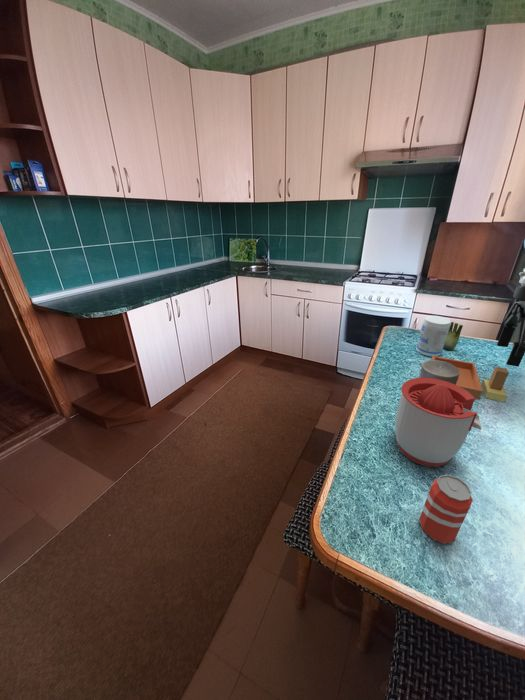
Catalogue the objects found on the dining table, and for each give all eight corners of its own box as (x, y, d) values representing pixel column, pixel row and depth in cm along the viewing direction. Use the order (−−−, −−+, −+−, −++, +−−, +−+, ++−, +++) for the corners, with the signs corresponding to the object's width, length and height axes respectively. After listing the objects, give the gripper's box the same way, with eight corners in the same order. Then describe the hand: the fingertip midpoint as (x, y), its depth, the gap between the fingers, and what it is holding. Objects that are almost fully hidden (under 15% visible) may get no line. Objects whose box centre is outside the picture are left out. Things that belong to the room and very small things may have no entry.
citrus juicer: (467, 489, 64) (499, 417, 55) (384, 459, 72) (400, 392, 63) (464, 442, 76) (489, 378, 67) (393, 421, 84) (407, 361, 75)
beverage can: (446, 515, 59) (464, 473, 53) (460, 548, 53) (482, 506, 48) (415, 510, 60) (429, 470, 54) (425, 543, 54) (442, 501, 48)
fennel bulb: (456, 350, 122) (465, 324, 117) (446, 352, 121) (455, 325, 116) (446, 345, 127) (454, 319, 122) (436, 346, 126) (444, 320, 121)
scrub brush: (499, 388, 97) (508, 365, 93) (504, 402, 91) (514, 377, 87) (481, 385, 99) (490, 362, 95) (484, 397, 93) (494, 374, 89)
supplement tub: (410, 349, 124) (418, 316, 118) (427, 345, 127) (436, 313, 120) (428, 359, 116) (438, 325, 110) (446, 355, 119) (457, 321, 112)
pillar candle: (450, 404, 90) (465, 362, 83) (442, 420, 84) (457, 376, 77) (417, 392, 96) (428, 352, 89) (407, 406, 90) (418, 364, 83)
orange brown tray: (471, 370, 108) (474, 363, 106) (479, 399, 92) (482, 391, 91) (430, 363, 113) (432, 355, 112) (431, 389, 98) (433, 381, 96)
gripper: (507, 275, 90) (485, 337, 99) (531, 296, 70) (500, 371, 79) (538, 277, 87) (512, 341, 96) (572, 300, 67) (535, 377, 76)
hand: (506, 355), depth 88 cm, fingers open, 13 cm apart
